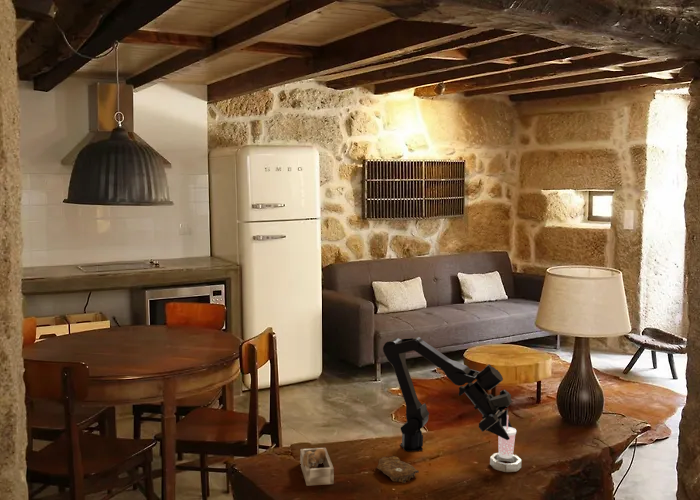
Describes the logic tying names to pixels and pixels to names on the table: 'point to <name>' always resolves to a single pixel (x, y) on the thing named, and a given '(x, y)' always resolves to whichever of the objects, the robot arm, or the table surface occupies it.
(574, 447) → the table surface
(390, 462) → the decorative rock
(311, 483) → the open figurine box
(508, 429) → the beverage cup
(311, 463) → the lion figurine
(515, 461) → the cup holder ring
